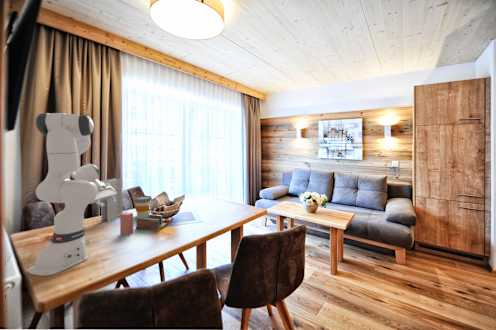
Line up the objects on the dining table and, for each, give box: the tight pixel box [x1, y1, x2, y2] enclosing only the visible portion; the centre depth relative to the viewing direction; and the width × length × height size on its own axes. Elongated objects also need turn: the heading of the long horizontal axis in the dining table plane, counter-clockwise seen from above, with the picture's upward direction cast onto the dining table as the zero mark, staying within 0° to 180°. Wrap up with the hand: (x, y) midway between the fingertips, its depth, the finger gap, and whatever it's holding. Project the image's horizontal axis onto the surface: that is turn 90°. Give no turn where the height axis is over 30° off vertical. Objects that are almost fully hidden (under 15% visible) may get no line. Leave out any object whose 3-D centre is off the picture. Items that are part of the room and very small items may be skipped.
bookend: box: [147, 213, 163, 224], centre depth 154 cm, size 1×10×6 cm, turn 80°
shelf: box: [135, 217, 168, 233], centre depth 150 cm, size 12×16×8 cm
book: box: [119, 211, 134, 236], centre depth 139 cm, size 4×6×13 cm, turn 80°
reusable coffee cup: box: [134, 195, 153, 218], centre depth 174 cm, size 13×13×15 cm
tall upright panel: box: [100, 178, 124, 223], centre depth 165 cm, size 14×6×30 cm, turn 168°
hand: (109, 204), depth 140 cm, fingers open, 8 cm apart
